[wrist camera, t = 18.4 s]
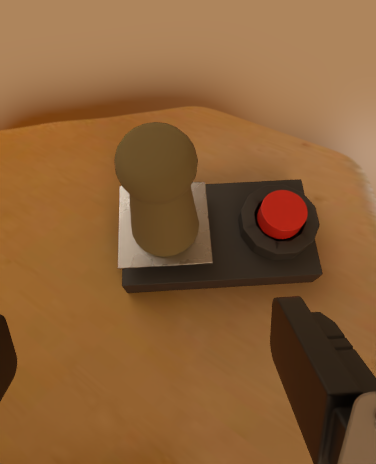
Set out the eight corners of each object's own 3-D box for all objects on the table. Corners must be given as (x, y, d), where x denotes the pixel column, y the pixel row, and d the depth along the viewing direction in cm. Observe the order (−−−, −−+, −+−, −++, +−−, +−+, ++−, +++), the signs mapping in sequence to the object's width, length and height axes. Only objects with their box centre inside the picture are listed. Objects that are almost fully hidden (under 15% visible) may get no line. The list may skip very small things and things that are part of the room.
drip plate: (118, 269, 28) (117, 268, 28) (120, 187, 32) (119, 186, 31) (212, 263, 29) (212, 262, 28) (204, 183, 32) (205, 181, 31)
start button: (260, 240, 30) (265, 232, 28) (254, 201, 31) (258, 190, 30) (304, 238, 30) (312, 229, 28) (296, 199, 32) (302, 188, 30)
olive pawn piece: (157, 270, 28) (140, 210, 18) (118, 219, 30) (82, 138, 20) (213, 229, 30) (226, 153, 19) (172, 183, 31) (165, 91, 21)
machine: (127, 293, 32) (118, 280, 28) (128, 201, 36) (120, 178, 32) (312, 282, 33) (330, 268, 28) (293, 192, 37) (307, 169, 32)
